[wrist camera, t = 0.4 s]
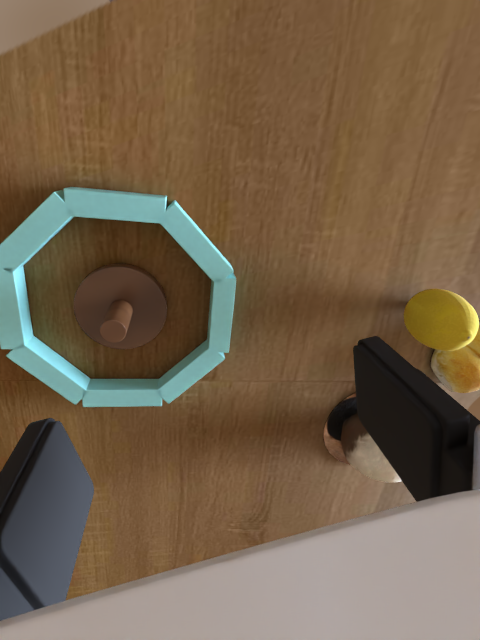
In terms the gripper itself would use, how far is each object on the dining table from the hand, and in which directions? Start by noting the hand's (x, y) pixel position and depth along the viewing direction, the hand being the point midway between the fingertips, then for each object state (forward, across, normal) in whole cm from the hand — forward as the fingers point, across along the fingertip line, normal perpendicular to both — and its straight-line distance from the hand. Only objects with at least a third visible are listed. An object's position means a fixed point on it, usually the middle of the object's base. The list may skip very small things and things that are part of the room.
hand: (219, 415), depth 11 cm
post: (+23, +8, +3) cm, 24 cm away
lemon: (+23, -21, +10) cm, 33 cm away
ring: (+23, +8, +3) cm, 24 cm away
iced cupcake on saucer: (+23, -16, +26) cm, 38 cm away
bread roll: (+23, -28, +18) cm, 41 cm away
